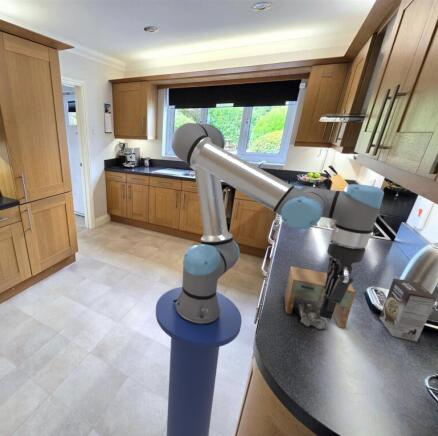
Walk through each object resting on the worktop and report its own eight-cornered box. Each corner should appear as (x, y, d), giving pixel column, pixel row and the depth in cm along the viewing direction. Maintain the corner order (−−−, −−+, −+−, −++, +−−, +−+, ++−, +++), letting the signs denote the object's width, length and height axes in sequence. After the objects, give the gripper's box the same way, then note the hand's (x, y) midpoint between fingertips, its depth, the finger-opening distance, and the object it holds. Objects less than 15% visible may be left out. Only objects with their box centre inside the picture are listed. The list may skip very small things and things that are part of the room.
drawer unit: (286, 313, 87) (293, 279, 82) (284, 297, 95) (290, 266, 91) (344, 328, 80) (356, 292, 75) (336, 310, 88) (346, 276, 84)
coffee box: (378, 318, 85) (392, 277, 80) (401, 322, 82) (418, 281, 78) (391, 336, 77) (408, 292, 72) (418, 342, 74) (438, 297, 69)
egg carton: (297, 306, 90) (299, 297, 89) (321, 312, 87) (324, 303, 86) (299, 324, 81) (301, 314, 80) (326, 332, 78) (329, 321, 77)
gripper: (375, 256, 57) (346, 335, 65) (357, 237, 68) (334, 307, 76) (336, 250, 60) (313, 326, 68) (325, 233, 71) (307, 300, 79)
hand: (325, 316), depth 72 cm, fingers closed
